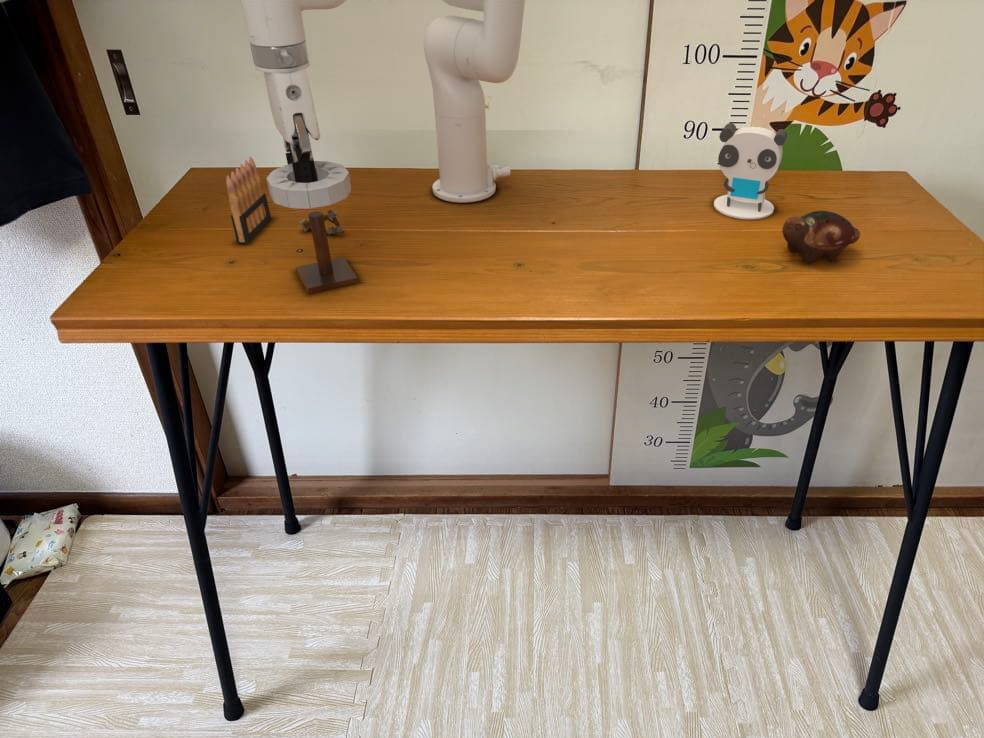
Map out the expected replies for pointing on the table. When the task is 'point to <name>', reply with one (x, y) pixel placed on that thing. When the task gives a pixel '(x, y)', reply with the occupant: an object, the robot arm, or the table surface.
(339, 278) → the stand
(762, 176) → the panda figurine
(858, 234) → the decorative turtle
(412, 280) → the table surface
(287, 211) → the table surface
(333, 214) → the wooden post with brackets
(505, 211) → the table surface
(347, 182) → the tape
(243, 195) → the ammunition clip
